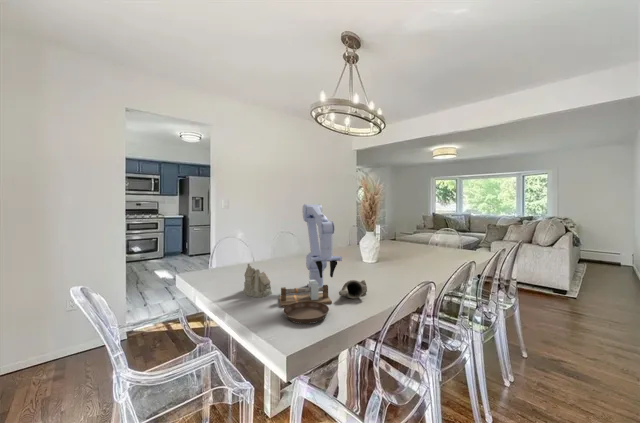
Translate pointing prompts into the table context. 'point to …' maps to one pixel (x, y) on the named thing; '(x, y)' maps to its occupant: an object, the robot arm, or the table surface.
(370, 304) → the table surface
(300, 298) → the rod stand
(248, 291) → the ceramic cottage
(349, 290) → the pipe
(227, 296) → the table surface
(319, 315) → the plant saucer
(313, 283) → the collar
